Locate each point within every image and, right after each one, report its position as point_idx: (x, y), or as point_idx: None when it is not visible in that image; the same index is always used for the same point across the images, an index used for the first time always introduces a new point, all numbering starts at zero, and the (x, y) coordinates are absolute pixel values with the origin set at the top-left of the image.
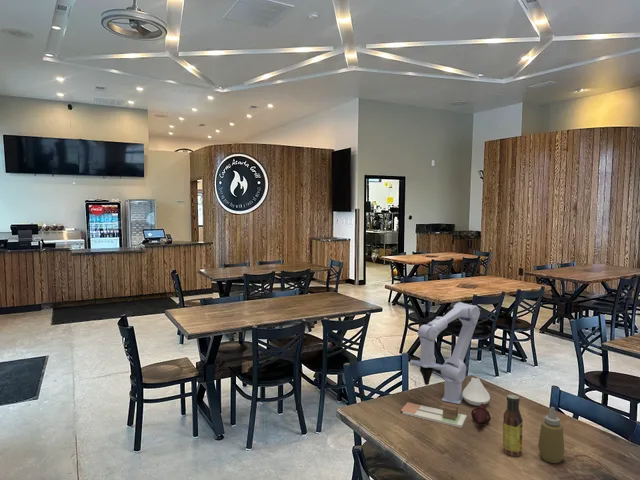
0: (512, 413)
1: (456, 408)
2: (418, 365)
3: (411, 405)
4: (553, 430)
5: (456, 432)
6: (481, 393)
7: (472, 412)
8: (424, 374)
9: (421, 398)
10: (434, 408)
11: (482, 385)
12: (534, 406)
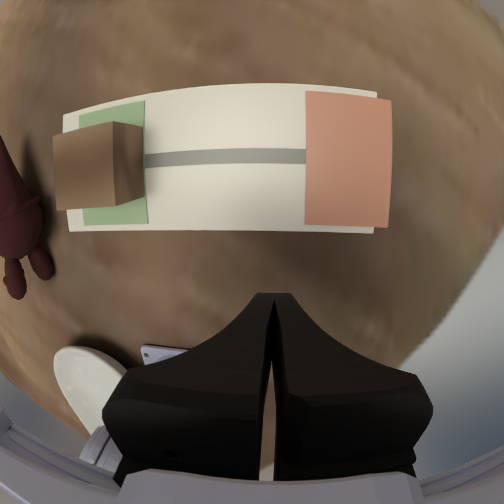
0: None
1: (53, 164)
2: (450, 482)
3: (356, 192)
4: None
5: (83, 66)
6: (100, 415)
7: (21, 205)
8: (300, 354)
9: None
10: (217, 225)
11: None
12: (20, 382)
